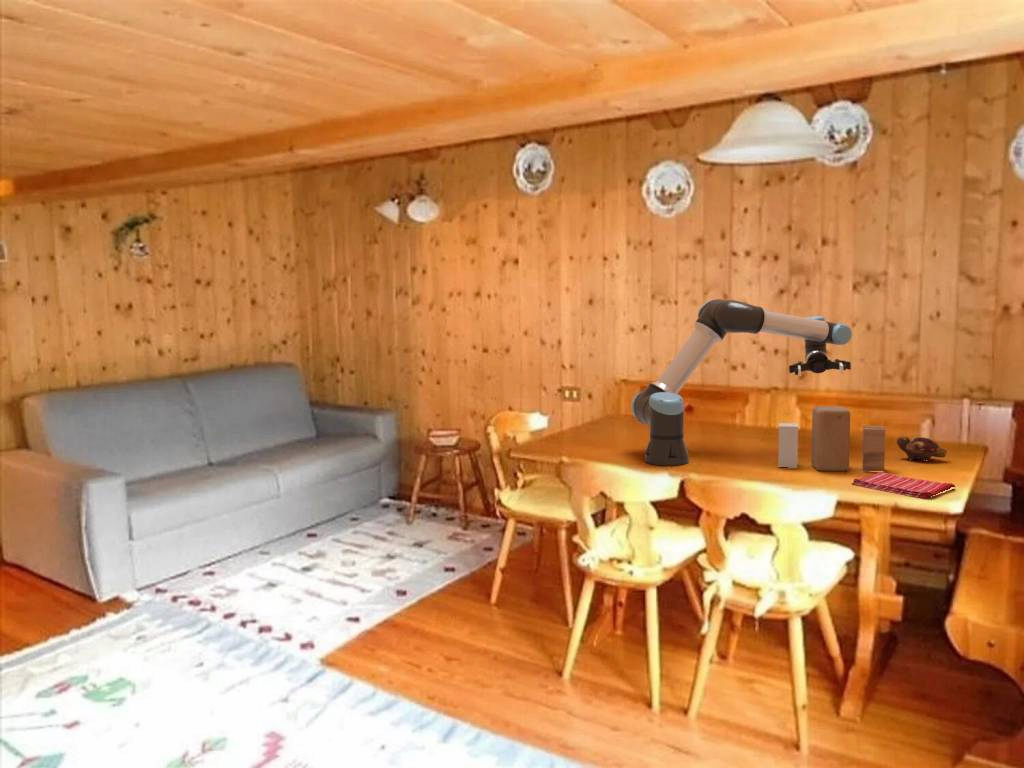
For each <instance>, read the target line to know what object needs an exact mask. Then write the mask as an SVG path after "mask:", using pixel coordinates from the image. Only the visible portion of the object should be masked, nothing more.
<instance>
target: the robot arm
mask: <svg viewBox="0 0 1024 768" xmlns="http://www.w3.org/2000/svg"><path fill="white" fill-rule="evenodd" d="M729 333H730V334H738V333H741V334H742V333H743V334H752V335H754V334H755V335H756V334H759V333H766V334H770V335H778V336H782V337H790V338H795V339H801V340H804V351H805V352H804V353H805V355H804V357H805V359H804V360H805V362H806V363H805V362H803V361H800V360H799V361H798V362H796V363H792V364H791V365H789V366H788V371H789V374H792V373H793V374H794V375H795V376H798V377H802V372H806V371H807V372H812V373H813V374H822V373H824V372H826V370H827V371H829V370H839V372H840V374H844V373H845V372H844V371H845V370H849V371H850V370H851V369H852V365H851V362H850V361H846V360H843V359H842V360H841V359H837V358H836V359H834V360H833V361H832V360H831V359H829V358H828V354H827V351H828V350H827V344H830V345H837V346H844V345H846V344H848V343H849V342H850V341H851V339H852V336H853V331H852V328H851V327H850V326H849V325H847V324H845V323H839V322H838V323H836V322H831V321H826V320H825V317H824V316H822V315H814V316H807V317H803V316H797V315H791V314H785V313H780V312H774V311H769V310H765V309H764V308H763V307H762V306H758V305H757V306H756V305H753V304H749V303H746V302H742V301H738V300H735V299H721V298H720V299H719V298H715V299H710V300H708V301H706V302H705V303H703V304H702V305H701V306H700V308H699V310H698V312H697V319H696V320H695V322H694V331H693V332H692V333H691V334H690V335H689V337H688V339H687V340H686V341H685V342H684V344H683V345H682V347H681V348H680V349H679V351H678V352H677V353H676V354H675V356H674V358H672V360H671V362H670V363H669V364H668V366H667V367H666V368H665V370H663V372H662V374H661V375H660V376H659V378H658V379H657V380H656V381H653V382H650V383H649V384H648V385H647V387H646V388H645V390H642V391H640V392H638V393H637V394H636V395H635V396H634V397H633V398H632V401H631V412H632V414H633V416H634V417H635V418H636V420H637V421H639V422H640V423H641V424H643V425H646V426H647V425H648V426H649V441H648V444H647V447H646V450H645V452H644V461H645V462H646V463H648V464H650V465H654V466H655V465H656V466H666V467H667V466H669V467H670V466H680V465H686V464H687V463H689V461H690V457H689V452H688V449H687V446H686V442H685V436H684V435H685V434H684V433H685V431H684V429H685V427H684V422H685V412H684V411H685V405H684V404H685V403H684V398H683V397H682V396H681V395H679V394H678V393H679V392H680V391H681V389H682V388H683V387H684V386H685V384H686V382H687V381H688V380H689V378H690V377H691V375H692V374H693V373H694V371H695V370H696V369H697V367H698V366H699V365H700V363H701V362H702V361H703V359H704V358H705V357H706V355H707V354H708V352H710V350H711V349H712V347H713V345H715V344H716V343H721V342H722V341H723V339H725V337H726V335H727V334H729Z"/></svg>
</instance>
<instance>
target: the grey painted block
mask: <svg viewBox="0 0 1024 768" xmlns="http://www.w3.org/2000/svg"><path fill="white" fill-rule="evenodd" d="M777 454H778V460H777V461H778V462H777V463H778V464H777V467H788V468H787V469H795V468H797V469H798V466H799V465H798V462H799V460H798V459H799V456H798V455H799V423H792V422H791V423H789V422H788V423H787V422H785V423H784V422H783V423H782V422H779V423H778V453H777ZM797 465H798V466H797Z"/></svg>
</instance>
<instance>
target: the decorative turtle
mask: <svg viewBox="0 0 1024 768" xmlns="http://www.w3.org/2000/svg"><path fill="white" fill-rule="evenodd" d="M896 443H897V446H898V447H899V449H900V450H901V451H902V452H904V453H905V454H906V456H907V458H908V460H909V459H911V460H913V461H915V460H916V459H917V458H919V459H921V460H922V461H923V460H925V461H926V460H928V461H930V460H931V458H932V457H935V458H945V457H946V456H947V454H948V452H947V449H944V448H942V447H940V445H939V444H938V443H937V442H936V441H934V440H932V439H930V438H927V437H915V438H913V439H911V440H910V438H909V437H907V436H900V437H898V438H897V440H896ZM914 459H915V460H914Z"/></svg>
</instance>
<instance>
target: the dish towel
mask: <svg viewBox="0 0 1024 768" xmlns="http://www.w3.org/2000/svg"><path fill="white" fill-rule="evenodd" d="M852 481H853V482H852V483H851V485H854V486H858V487H863V488H866V489H867V488H868V489H872V490H876V491H881V492H887V493H891V494H896V495H902V496H906V497H914V498H918V499H922V500H929V499H931V498H930V497H931V496H933V495H936V494H938V493H940V492H943V491H945V490H948V489H950V488H951V487H955V488H956V485H955V484H954V483H951V482H950V483H949V482H948V483H947V482H940V481H939V482H938V481H931V480H925V479H919V478H913V477H906V476H902V475H901V476H900V475H895V474H891V473H888V472H884V473H883V472H879V473H873V474H871V475H867V476H864V477H861V478H854V479H853V480H852Z"/></svg>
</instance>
